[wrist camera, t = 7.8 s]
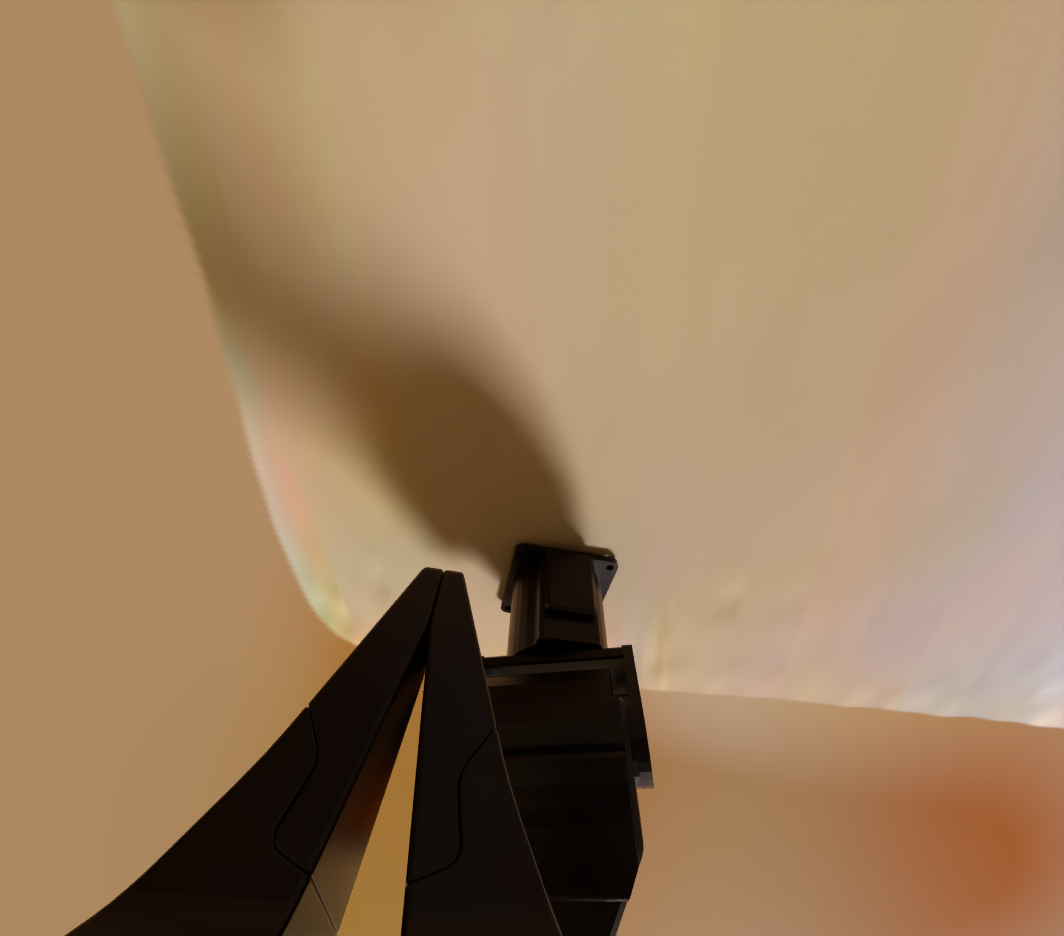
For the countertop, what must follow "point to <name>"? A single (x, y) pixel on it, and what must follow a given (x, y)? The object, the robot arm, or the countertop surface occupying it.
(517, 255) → the countertop surface
